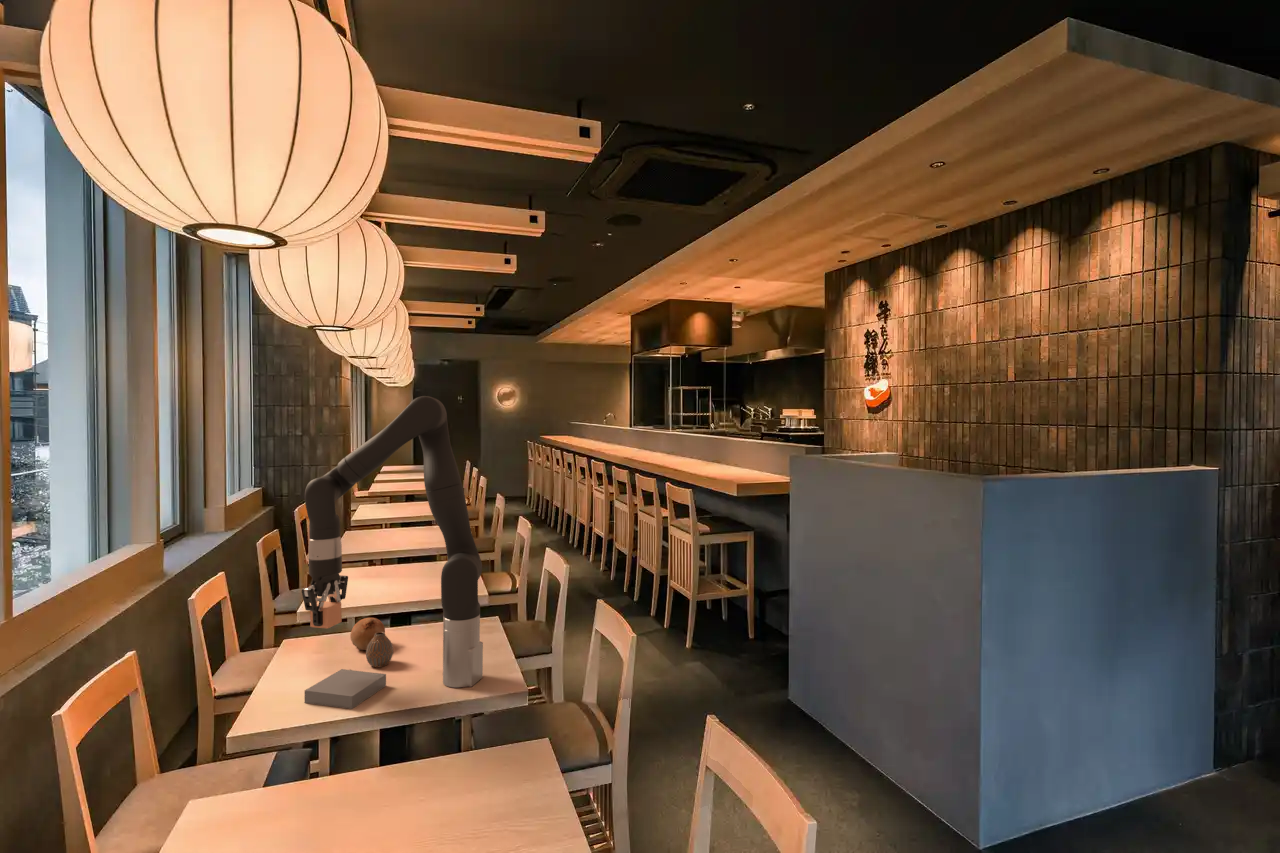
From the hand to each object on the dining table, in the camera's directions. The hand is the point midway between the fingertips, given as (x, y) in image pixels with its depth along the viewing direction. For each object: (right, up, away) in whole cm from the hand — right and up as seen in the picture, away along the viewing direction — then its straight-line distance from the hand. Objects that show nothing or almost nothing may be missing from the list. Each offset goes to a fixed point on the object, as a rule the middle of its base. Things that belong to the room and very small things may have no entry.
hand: (326, 621), depth 157 cm
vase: (+7, -17, +15) cm, 24 cm away
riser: (+7, -17, -4) cm, 18 cm away
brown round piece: (-1, -16, +27) cm, 32 cm away
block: (0, -1, 0) cm, 1 cm away
